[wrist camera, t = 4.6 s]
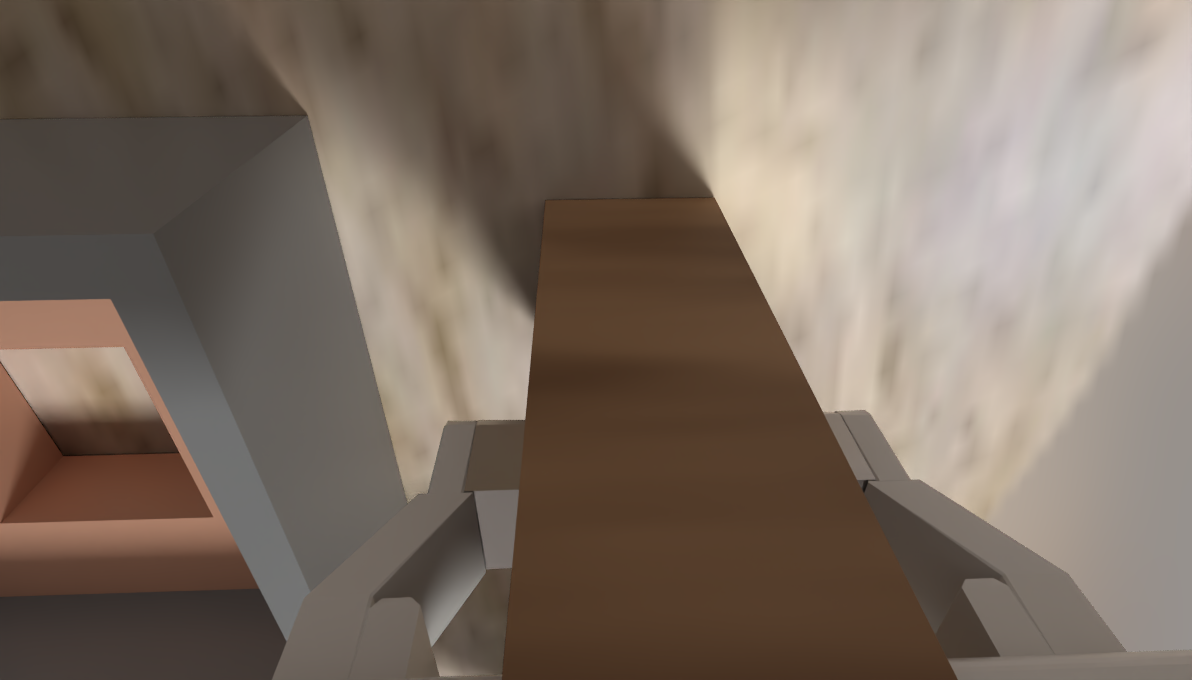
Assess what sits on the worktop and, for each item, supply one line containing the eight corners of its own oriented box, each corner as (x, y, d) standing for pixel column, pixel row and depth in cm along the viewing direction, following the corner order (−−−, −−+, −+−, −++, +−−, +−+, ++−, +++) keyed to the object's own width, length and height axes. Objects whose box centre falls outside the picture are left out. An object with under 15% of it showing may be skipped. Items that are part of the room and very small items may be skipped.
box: (416, 537, 21) (369, 725, 16) (-4, 549, 21) (-182, 746, 16) (307, 115, 13) (153, 234, 8) (-370, 124, 13) (-948, 252, 8)
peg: (699, 337, 17) (916, 1057, 6) (552, 340, 17) (520, 1078, 6) (714, 197, 15) (1094, 950, 4) (545, 200, 15) (473, 980, 4)
